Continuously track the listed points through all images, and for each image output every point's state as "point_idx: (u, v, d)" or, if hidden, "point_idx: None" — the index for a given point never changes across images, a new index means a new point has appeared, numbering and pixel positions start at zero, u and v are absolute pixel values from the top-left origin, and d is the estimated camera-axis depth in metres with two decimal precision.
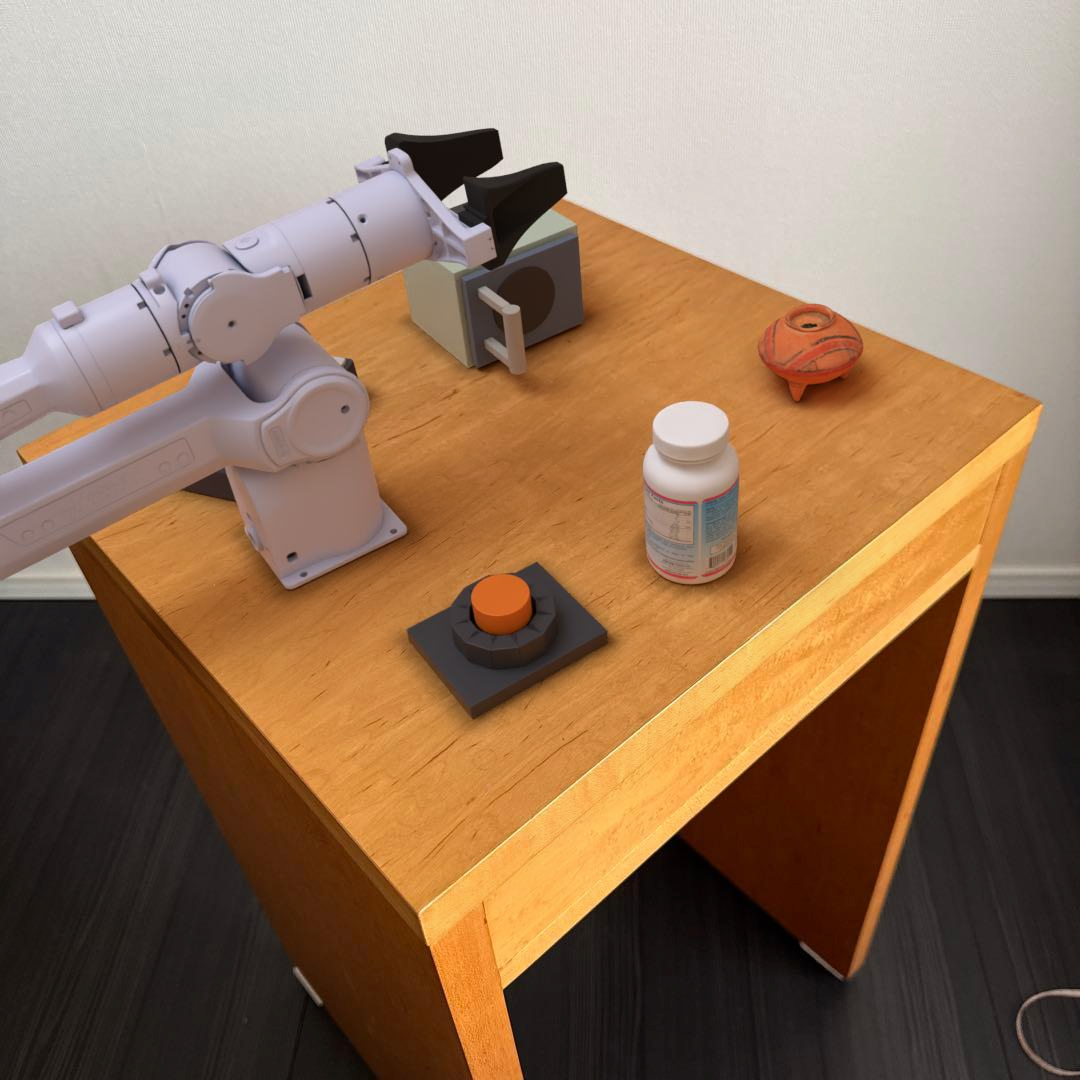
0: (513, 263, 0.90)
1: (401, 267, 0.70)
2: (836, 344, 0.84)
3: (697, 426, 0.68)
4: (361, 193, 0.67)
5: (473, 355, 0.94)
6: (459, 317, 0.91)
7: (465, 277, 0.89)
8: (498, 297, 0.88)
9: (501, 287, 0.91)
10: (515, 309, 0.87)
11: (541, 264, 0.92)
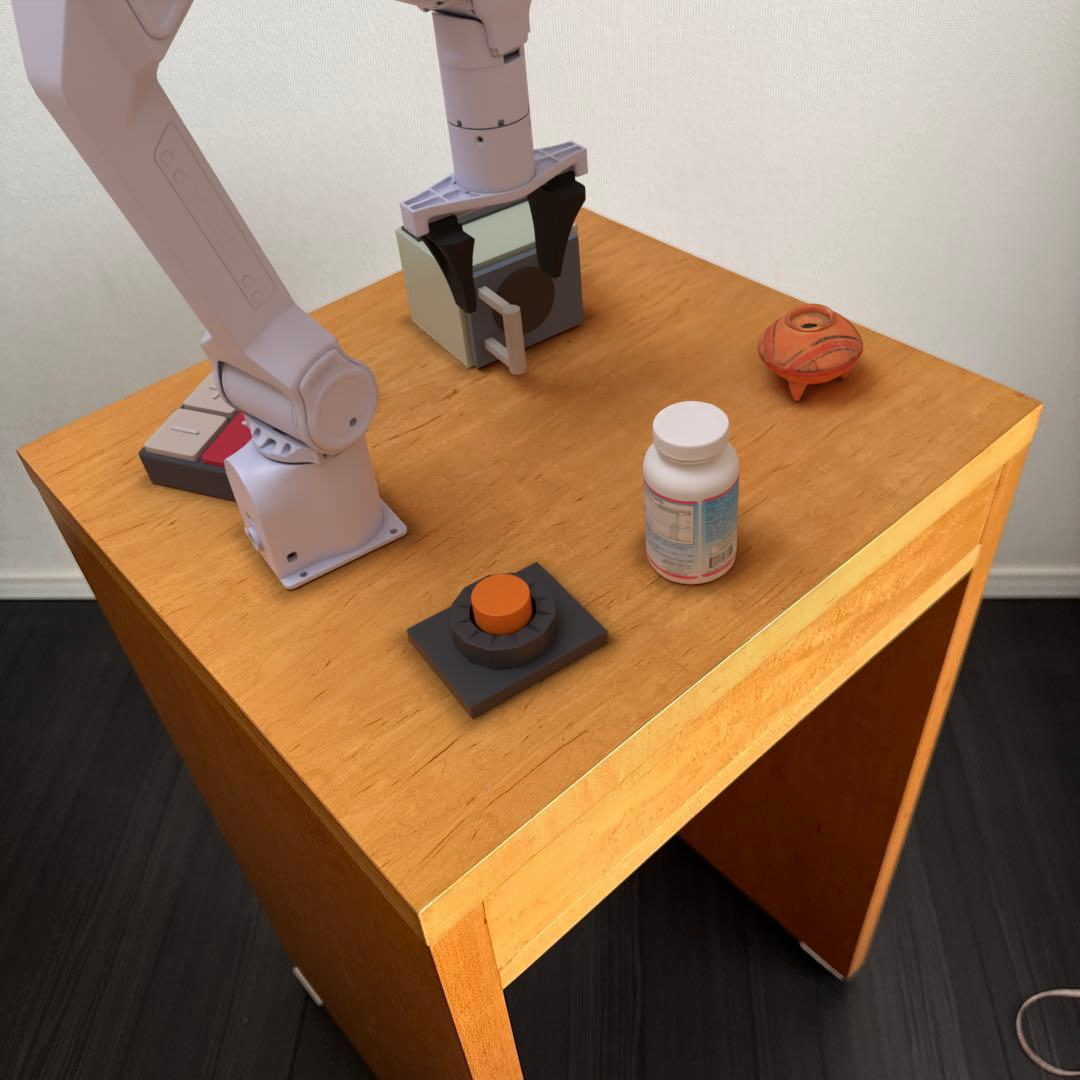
0: (513, 263, 0.90)
1: (532, 143, 0.77)
2: (836, 344, 0.84)
3: (697, 426, 0.68)
4: None
5: (473, 355, 0.94)
6: (459, 317, 0.91)
7: None
8: (498, 297, 0.88)
9: (501, 287, 0.91)
10: (515, 309, 0.87)
11: None
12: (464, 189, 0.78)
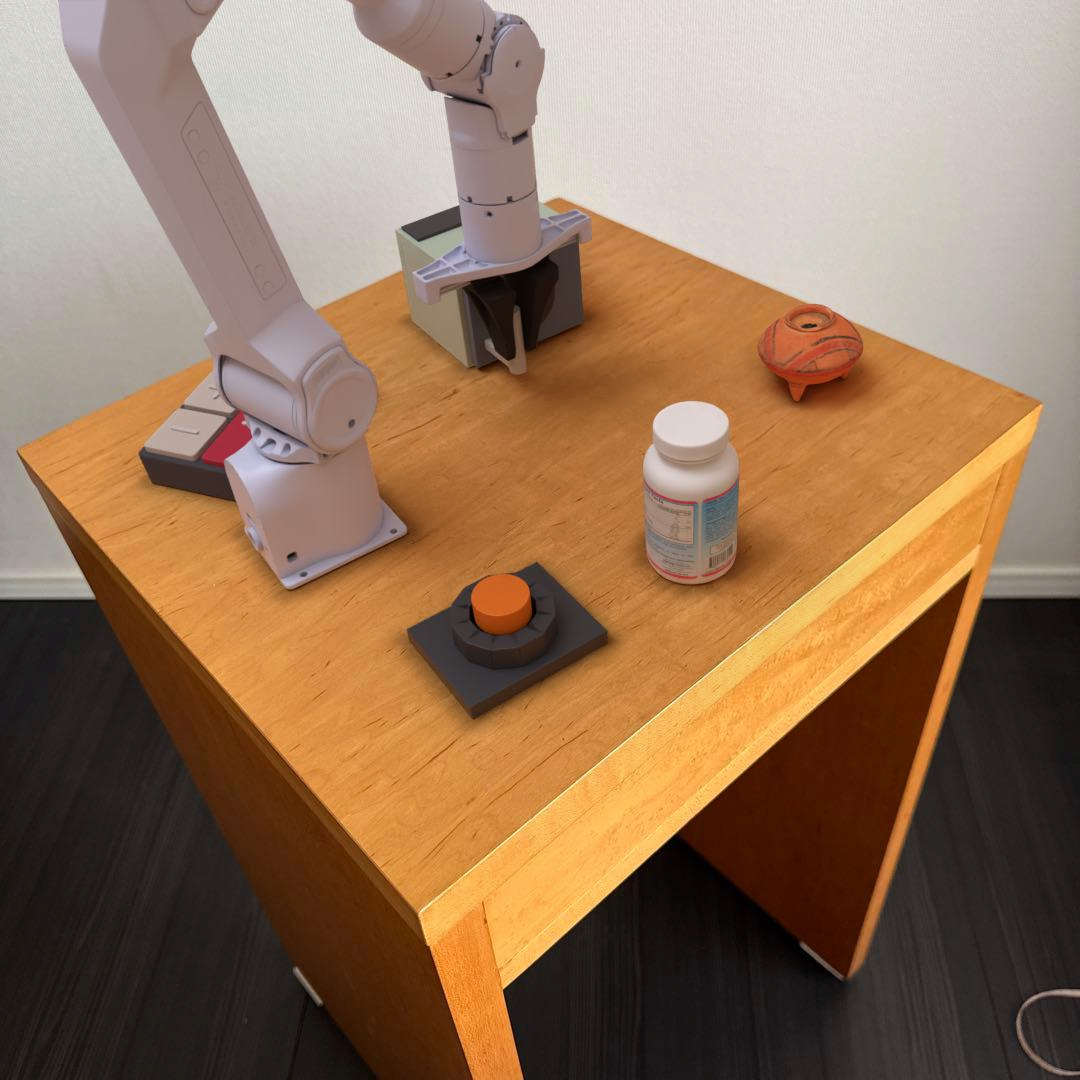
0: None
1: (538, 216, 0.81)
2: (836, 344, 0.84)
3: (697, 426, 0.68)
4: None
5: (473, 355, 0.94)
6: (459, 317, 0.91)
7: None
8: None
9: None
10: (515, 309, 0.87)
11: None
12: (474, 259, 0.82)
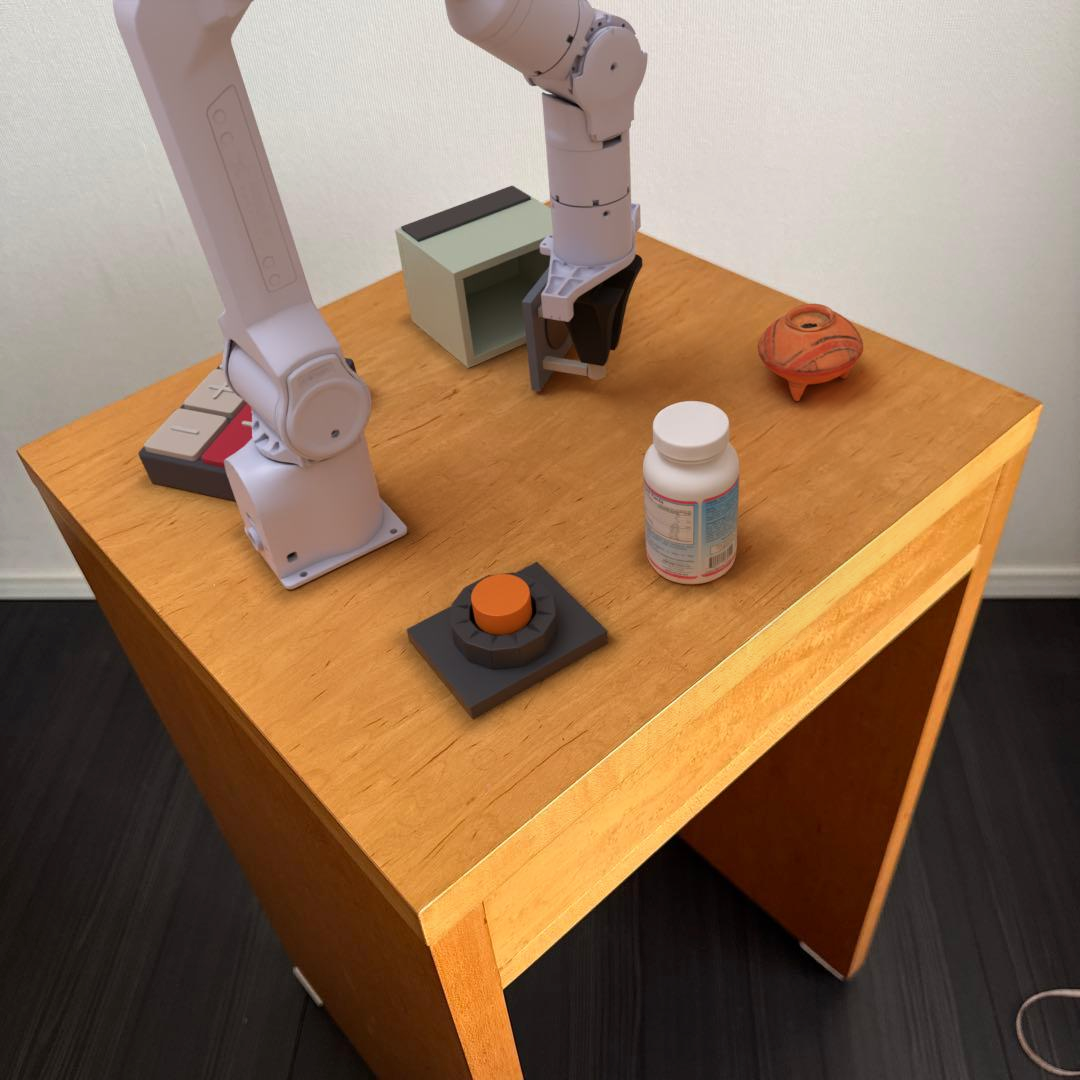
0: None
1: None
2: (836, 344, 0.84)
3: (697, 426, 0.68)
4: None
5: (533, 380, 0.90)
6: (459, 317, 0.91)
7: (526, 299, 0.86)
8: None
9: None
10: None
11: None
12: (585, 266, 0.79)
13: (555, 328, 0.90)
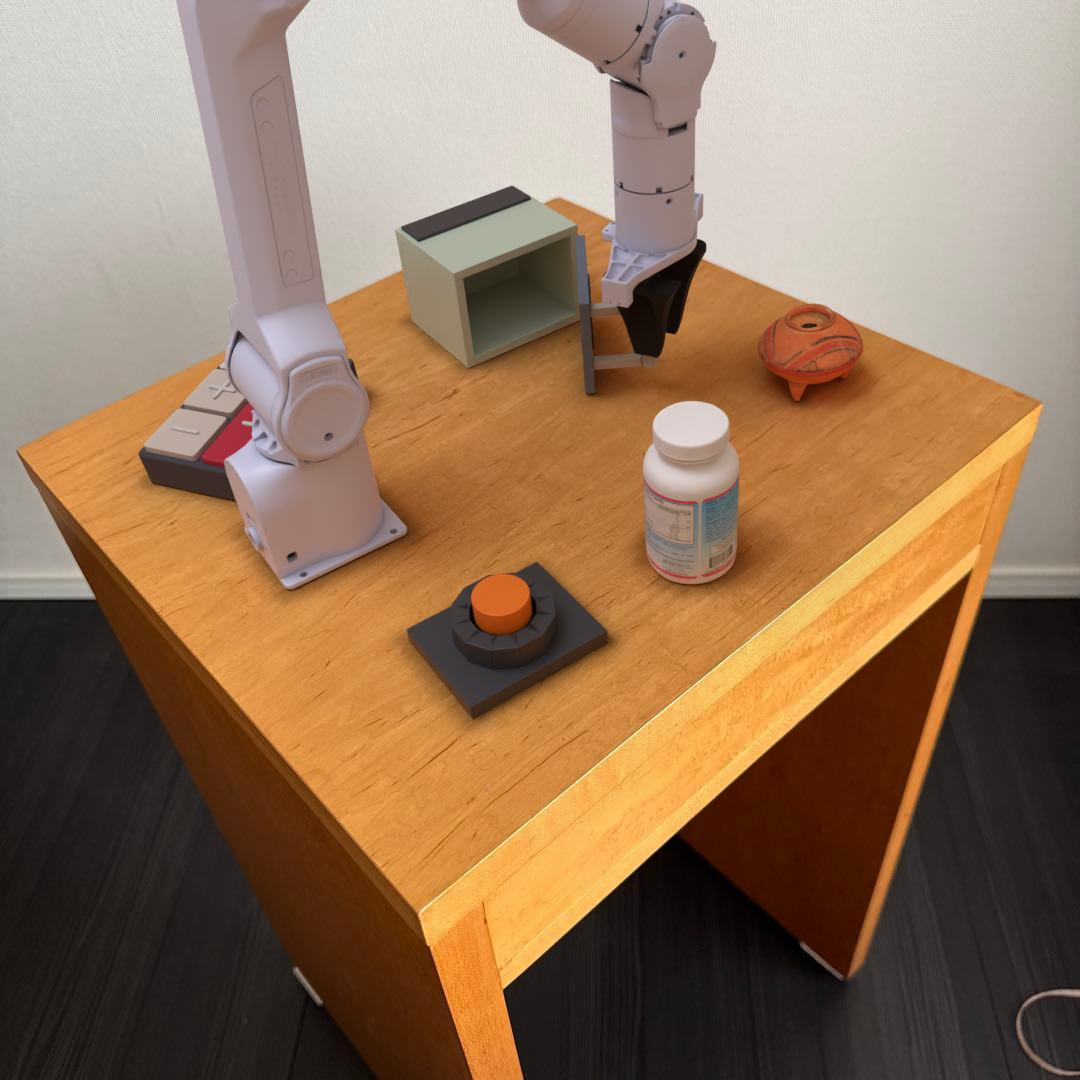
0: (587, 274, 0.88)
1: None
2: (836, 344, 0.84)
3: (697, 426, 0.68)
4: None
5: (588, 382, 0.89)
6: (459, 317, 0.91)
7: (582, 301, 0.85)
8: None
9: (590, 301, 0.88)
10: None
11: None
12: (646, 253, 0.80)
13: None
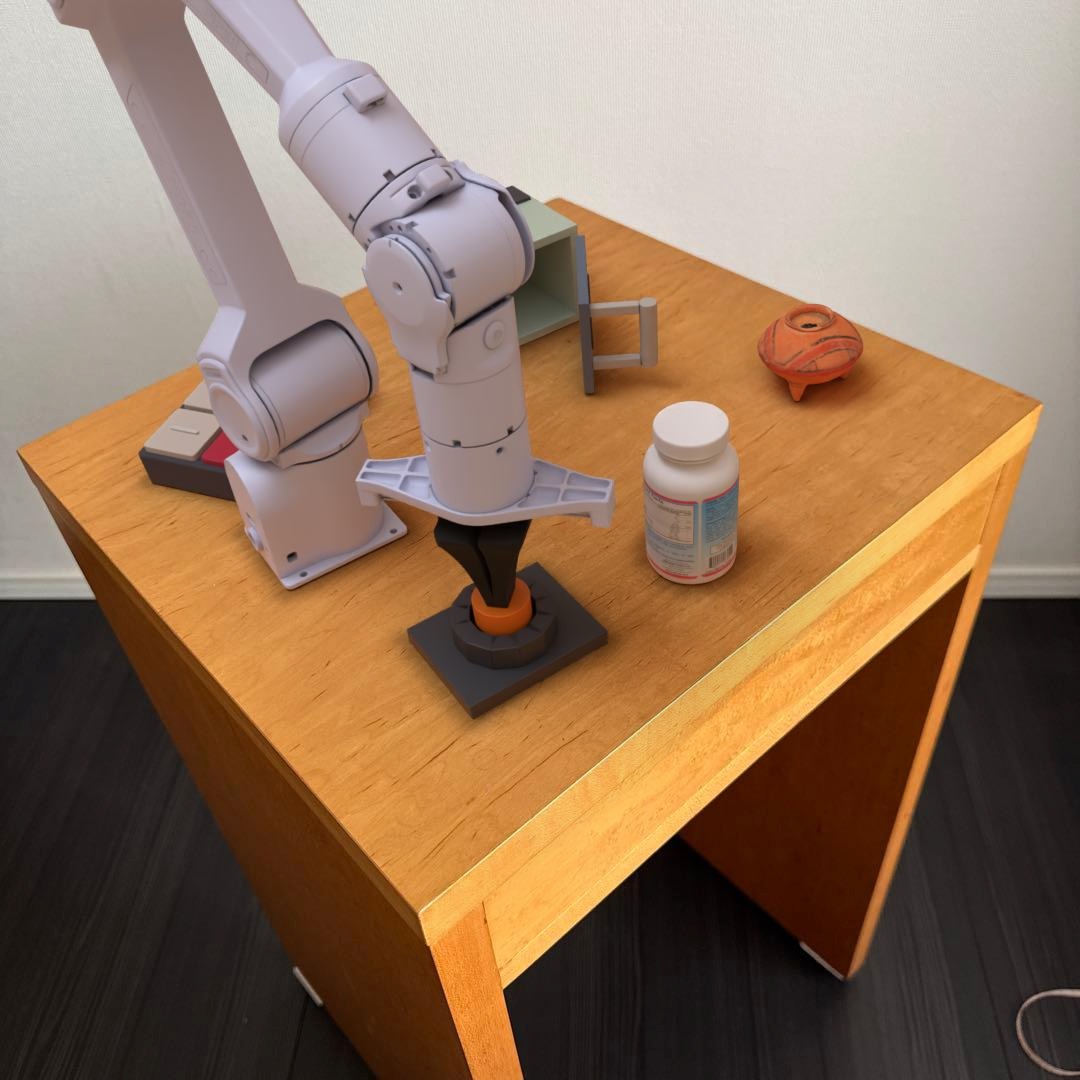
0: (586, 275, 0.88)
1: (506, 473, 0.59)
2: (836, 344, 0.84)
3: (697, 426, 0.68)
4: None
5: (587, 382, 0.89)
6: None
7: (581, 301, 0.85)
8: (619, 302, 0.86)
9: (590, 301, 0.88)
10: (651, 299, 0.86)
11: None
12: (430, 481, 0.62)
13: None
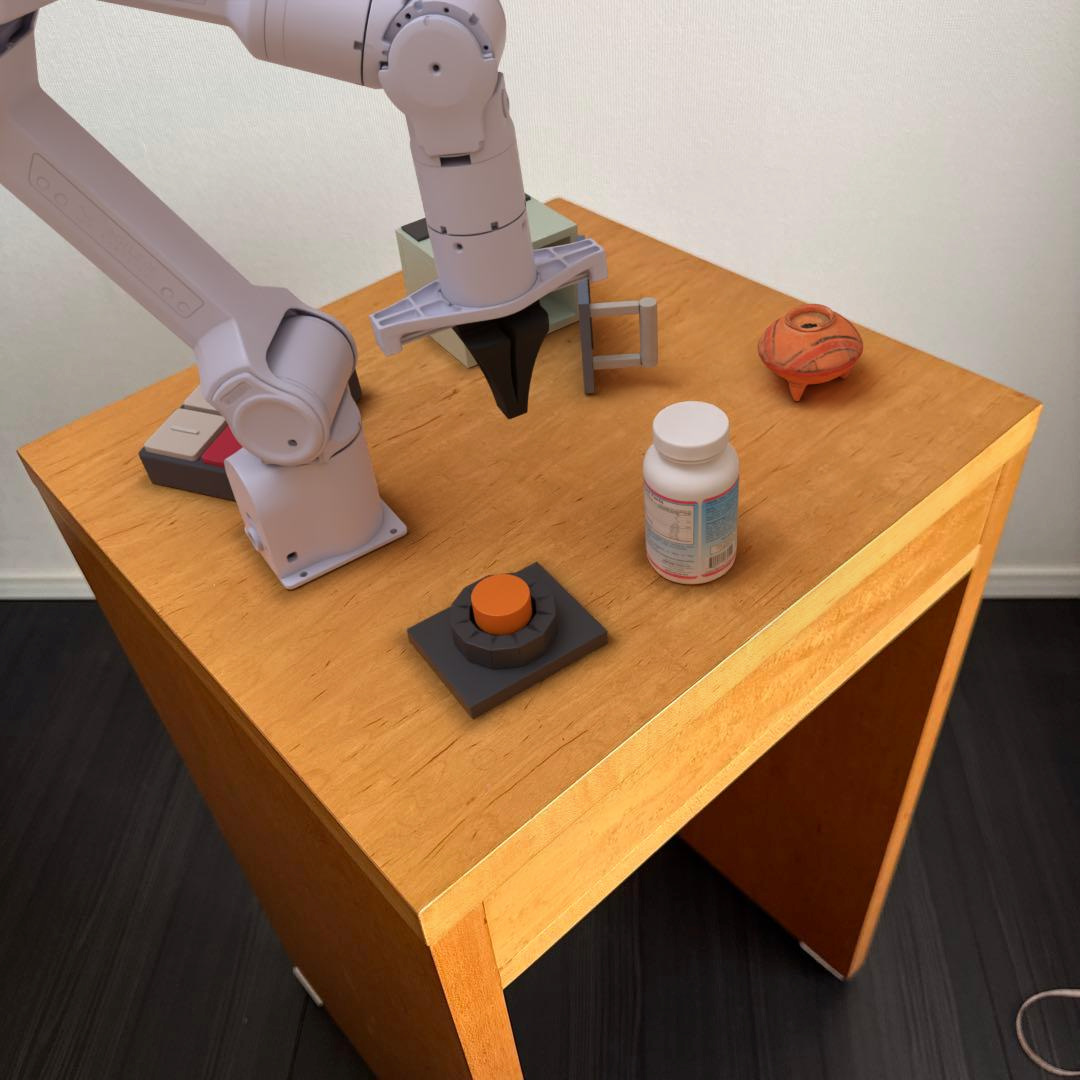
0: None
1: (529, 249, 0.64)
2: (836, 344, 0.84)
3: (697, 426, 0.68)
4: None
5: (587, 382, 0.89)
6: None
7: (581, 301, 0.85)
8: (619, 302, 0.86)
9: (590, 301, 0.88)
10: (651, 299, 0.86)
11: None
12: (447, 301, 0.65)
13: None
